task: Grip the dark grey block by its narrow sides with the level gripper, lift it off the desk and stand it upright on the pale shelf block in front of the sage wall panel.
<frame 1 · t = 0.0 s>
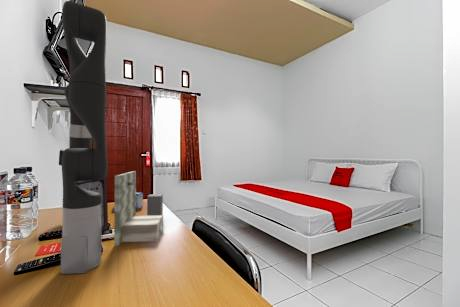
hand: (80, 174, 93), 22 cm above the table, tool pointing down, fingers open, 8 cm apart
champagne flute: (76, 219, 105), on the table
wall shelf: (144, 235, 86), on the table
dark grey block: (154, 220, 104), on the table
picture frame: (81, 235, 86), on the table
video game controller: (120, 213, 117), on the table
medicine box: (134, 208, 127), on the table
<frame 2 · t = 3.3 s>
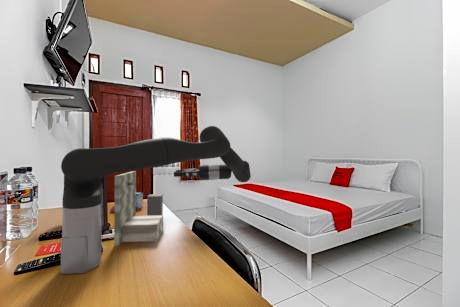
hand: (175, 173, 106), 22 cm above the table, tool horizontal, fingers open, 8 cm apart
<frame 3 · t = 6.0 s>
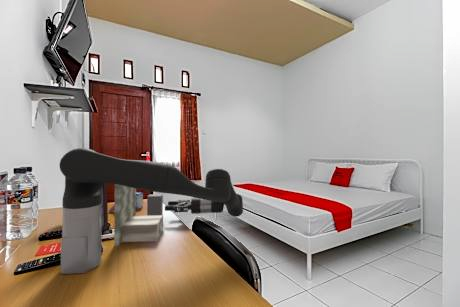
hand: (166, 205, 105), 7 cm above the table, tool horizontal, fingers open, 8 cm apart
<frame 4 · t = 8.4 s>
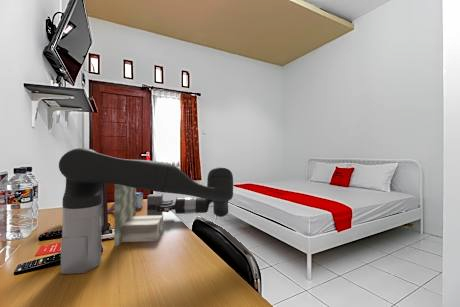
hand: (149, 205, 104), 7 cm above the table, tool horizontal, fingers closed on dark grey block, 4 cm apart
dark grey block: (154, 220, 104), on the table, touching gripper
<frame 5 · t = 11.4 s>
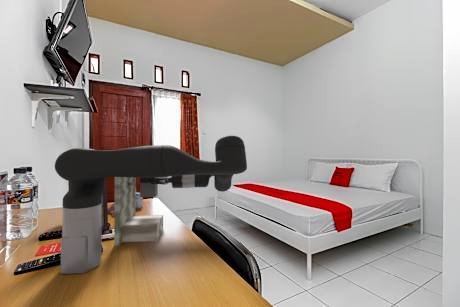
hand: (142, 179, 93), 21 cm above the table, tool horizontal, fingers closed on dark grey block, 4 cm apart
dark grey block: (149, 195, 93), point 14 cm above the table, touching gripper
when the fingers open (14 cm above the table, at t = 14.3 s): dark grey block drops 1 cm, resting on wall shelf.
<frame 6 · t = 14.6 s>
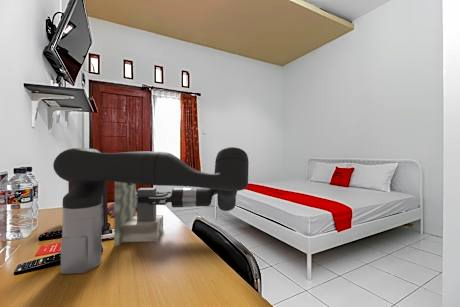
hand: (140, 197, 86), 14 cm above the table, tool horizontal, fingers open, 6 cm apart
dark grey block: (147, 219, 86), point 6 cm above the table, touching wall shelf
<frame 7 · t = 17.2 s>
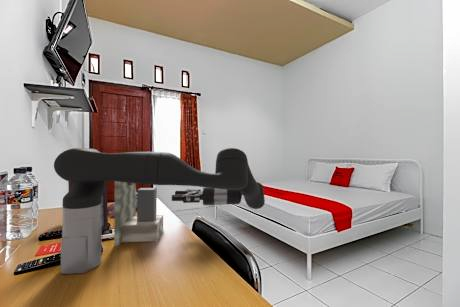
hand: (173, 195, 87), 15 cm above the table, tool horizontal, fingers open, 8 cm apart
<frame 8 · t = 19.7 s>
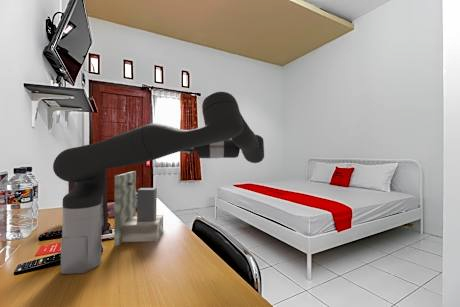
hand: (166, 147, 81), 34 cm above the table, tool horizontal, fingers open, 8 cm apart
at the end: dark grey block inside the target area on the wall shelf (0.0 cm from its centre), point 6.0 cm above the wall shelf's base; dark grey block tilted 0°; the gripper is holding nothing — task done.
